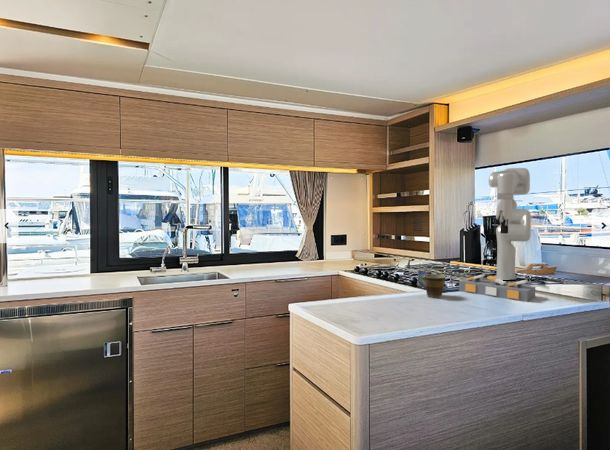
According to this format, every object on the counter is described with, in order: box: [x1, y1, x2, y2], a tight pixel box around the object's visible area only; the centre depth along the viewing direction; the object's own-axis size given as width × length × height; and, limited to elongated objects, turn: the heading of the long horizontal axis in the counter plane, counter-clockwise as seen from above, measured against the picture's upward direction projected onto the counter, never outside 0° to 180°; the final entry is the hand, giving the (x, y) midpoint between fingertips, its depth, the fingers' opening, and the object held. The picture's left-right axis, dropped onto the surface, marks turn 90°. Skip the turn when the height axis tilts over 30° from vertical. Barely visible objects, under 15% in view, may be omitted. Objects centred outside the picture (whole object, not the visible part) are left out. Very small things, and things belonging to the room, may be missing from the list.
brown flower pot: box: [417, 273, 446, 299], centre depth 203 cm, size 13×10×10 cm
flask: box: [417, 266, 432, 288], centre depth 223 cm, size 9×3×11 cm, turn 28°
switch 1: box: [466, 273, 486, 280], centre depth 214 cm, size 4×8×2 cm, turn 46°
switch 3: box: [507, 279, 528, 286], centre depth 200 cm, size 4×8×2 cm, turn 46°
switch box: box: [458, 277, 536, 302], centre depth 207 cm, size 13×32×6 cm, turn 46°
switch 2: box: [486, 275, 507, 285], centre depth 207 cm, size 4×8×2 cm, turn 46°
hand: (504, 233), depth 215 cm, fingers closed
